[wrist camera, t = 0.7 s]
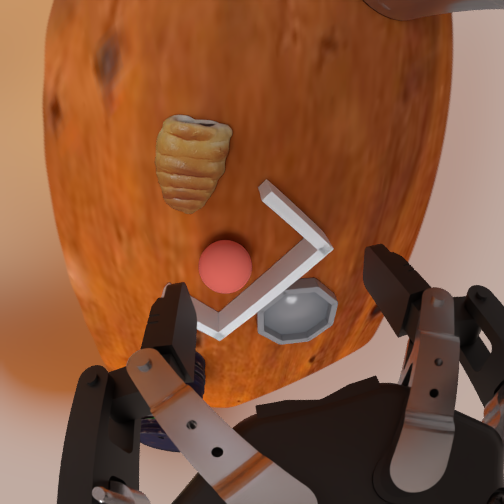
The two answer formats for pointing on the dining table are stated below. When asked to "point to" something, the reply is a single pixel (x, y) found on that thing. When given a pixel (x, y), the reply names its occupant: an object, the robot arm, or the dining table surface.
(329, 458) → the robot arm
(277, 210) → the white u-shaped bracket
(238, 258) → the ball
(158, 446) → the dark blue ridged cylinder
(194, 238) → the dining table surface
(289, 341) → the dish
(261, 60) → the dining table surface
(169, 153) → the pastry
